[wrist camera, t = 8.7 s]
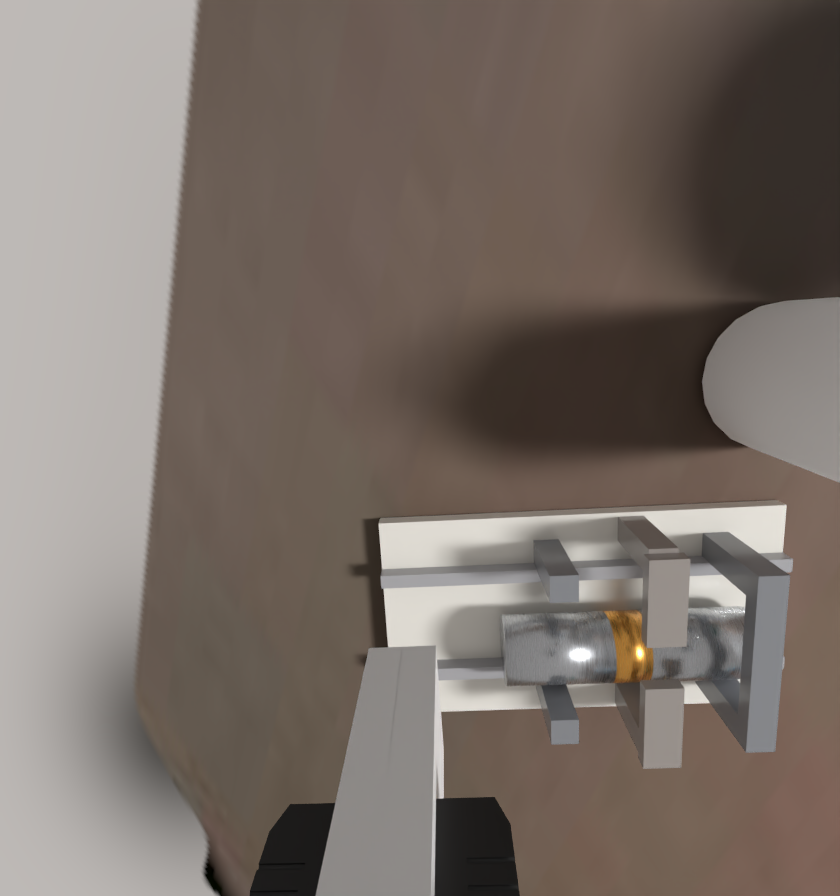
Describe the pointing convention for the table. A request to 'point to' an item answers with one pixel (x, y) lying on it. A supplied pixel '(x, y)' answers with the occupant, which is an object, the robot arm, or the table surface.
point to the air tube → (617, 648)
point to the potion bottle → (781, 383)
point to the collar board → (596, 606)
